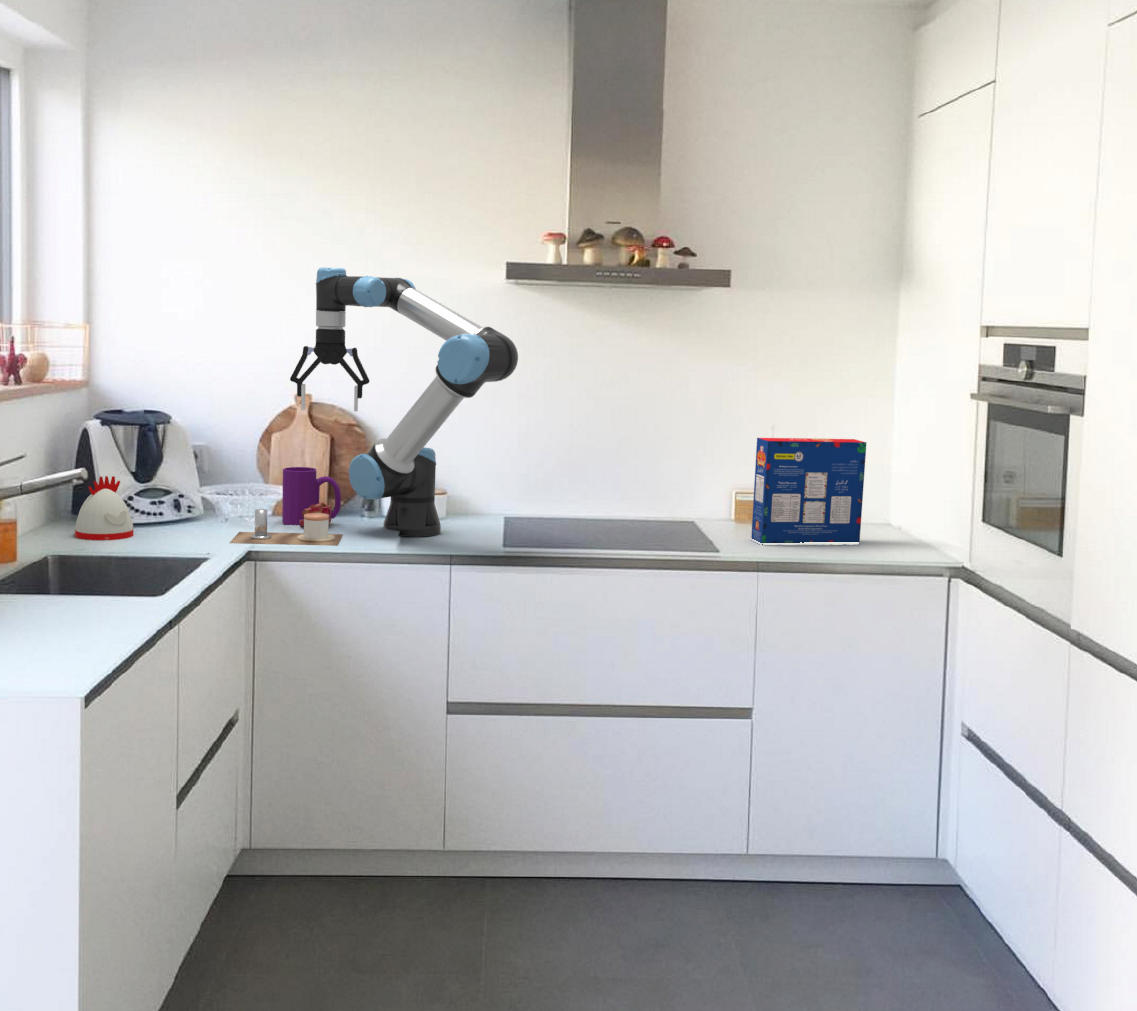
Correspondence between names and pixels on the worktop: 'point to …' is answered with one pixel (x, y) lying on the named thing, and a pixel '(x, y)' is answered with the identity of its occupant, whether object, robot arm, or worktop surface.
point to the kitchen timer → (104, 514)
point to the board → (281, 539)
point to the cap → (316, 525)
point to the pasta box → (808, 490)
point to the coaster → (302, 538)
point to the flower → (317, 511)
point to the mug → (304, 493)
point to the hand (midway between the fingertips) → (329, 410)
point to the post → (261, 525)
